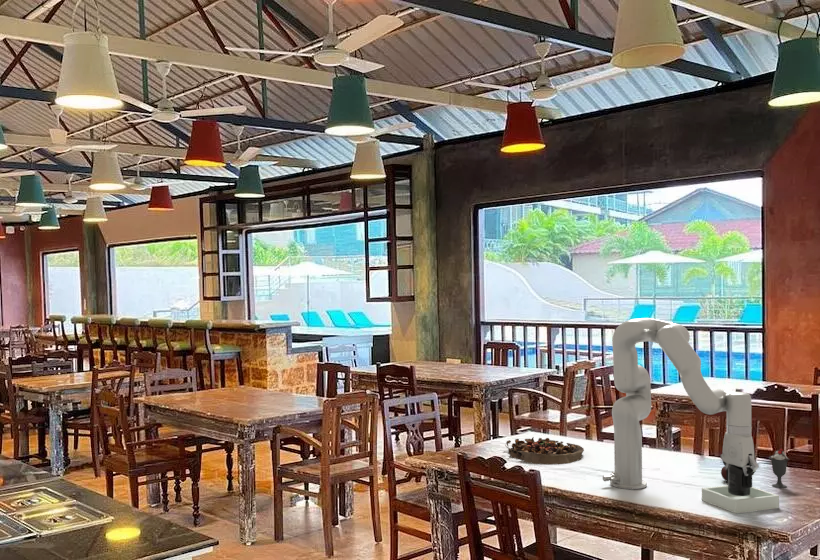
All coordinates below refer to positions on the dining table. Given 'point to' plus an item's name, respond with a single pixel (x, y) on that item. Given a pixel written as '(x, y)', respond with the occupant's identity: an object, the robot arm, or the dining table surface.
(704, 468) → the dining table surface
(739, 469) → the supplement bottle
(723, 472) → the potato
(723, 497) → the tray
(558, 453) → the food dish
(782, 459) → the sundae
